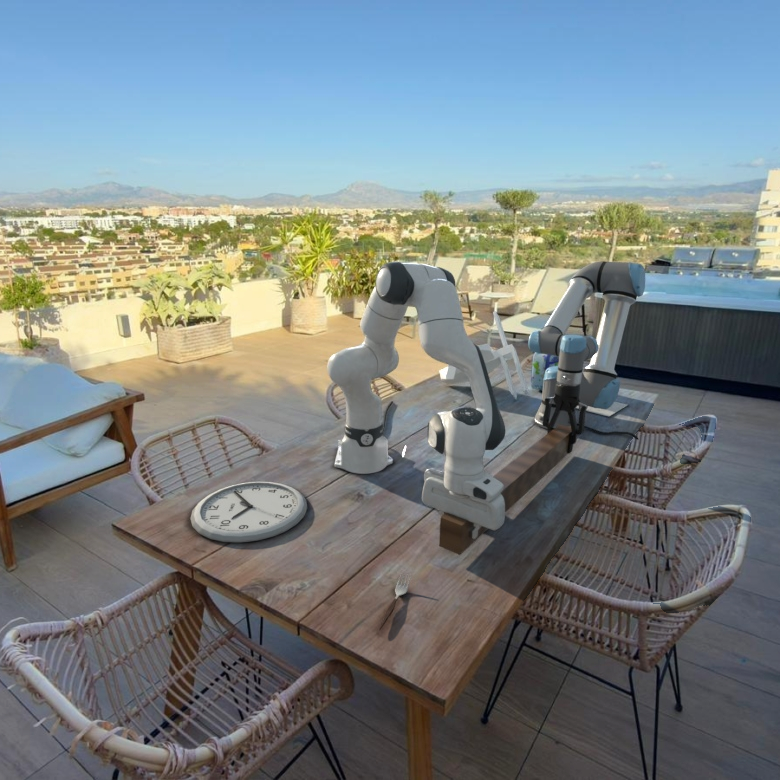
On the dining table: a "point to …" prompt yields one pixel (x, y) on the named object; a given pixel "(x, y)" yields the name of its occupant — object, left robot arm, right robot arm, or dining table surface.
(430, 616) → the dining table surface
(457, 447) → the left robot arm
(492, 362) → the white plastic object
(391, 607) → the fork
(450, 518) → the beam
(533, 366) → the lunch box
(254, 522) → the wall clock
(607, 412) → the invitation card
